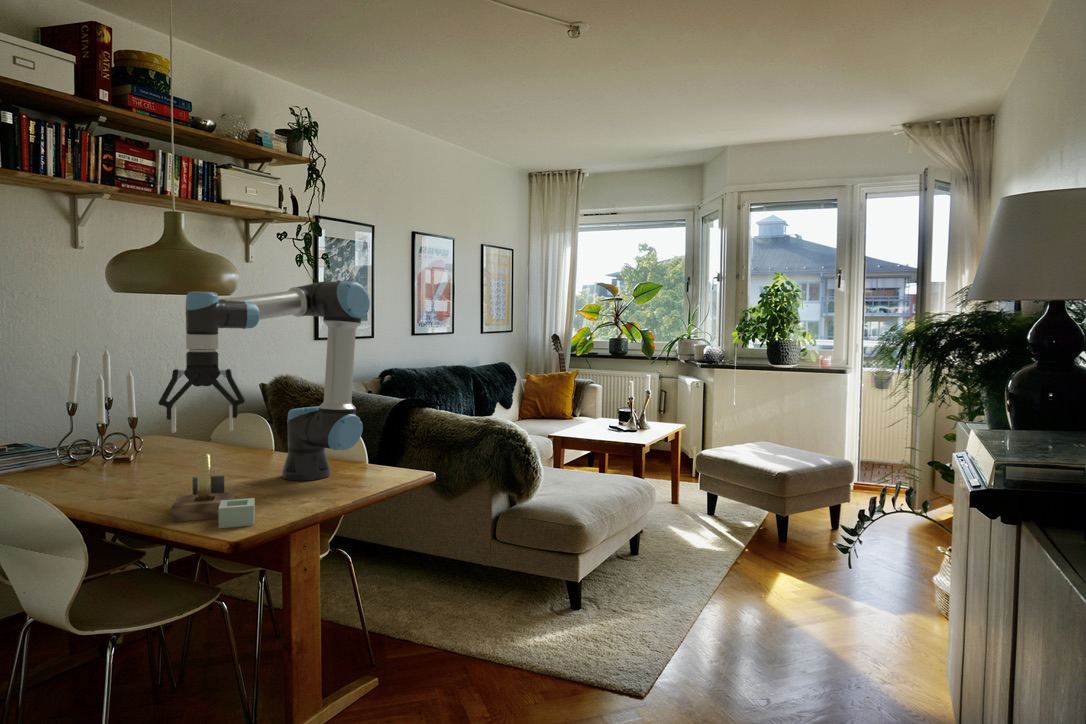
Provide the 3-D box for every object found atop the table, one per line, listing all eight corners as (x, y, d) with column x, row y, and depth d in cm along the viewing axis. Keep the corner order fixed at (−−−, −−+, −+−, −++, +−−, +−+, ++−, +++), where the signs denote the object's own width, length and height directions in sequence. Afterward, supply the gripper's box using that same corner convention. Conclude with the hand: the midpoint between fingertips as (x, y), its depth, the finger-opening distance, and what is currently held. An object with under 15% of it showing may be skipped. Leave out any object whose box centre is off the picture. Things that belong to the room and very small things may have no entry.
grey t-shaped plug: (224, 500, 194) (224, 475, 194) (221, 509, 185) (221, 483, 184) (193, 502, 192) (192, 476, 191) (188, 512, 182) (188, 485, 182)
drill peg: (211, 511, 184) (211, 452, 183) (210, 514, 181) (210, 455, 180) (198, 512, 183) (197, 453, 182) (197, 515, 180) (196, 455, 179)
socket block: (234, 506, 189) (234, 491, 189) (232, 516, 179) (232, 501, 179) (178, 510, 184) (177, 495, 184) (172, 521, 174) (171, 506, 174)
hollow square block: (254, 516, 180) (254, 497, 179) (253, 525, 172) (253, 505, 172) (221, 519, 177) (221, 500, 177) (218, 528, 169) (218, 508, 169)
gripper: (254, 350, 187) (254, 427, 188) (150, 350, 178) (151, 430, 179) (253, 351, 180) (253, 431, 181) (145, 351, 171) (146, 435, 172)
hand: (203, 431), depth 180 cm, fingers open, 13 cm apart
